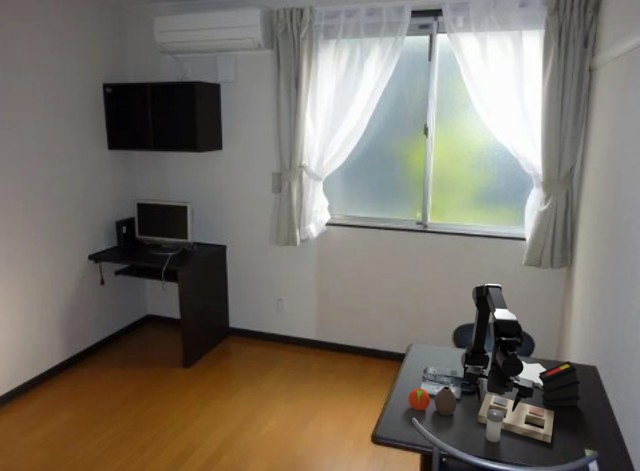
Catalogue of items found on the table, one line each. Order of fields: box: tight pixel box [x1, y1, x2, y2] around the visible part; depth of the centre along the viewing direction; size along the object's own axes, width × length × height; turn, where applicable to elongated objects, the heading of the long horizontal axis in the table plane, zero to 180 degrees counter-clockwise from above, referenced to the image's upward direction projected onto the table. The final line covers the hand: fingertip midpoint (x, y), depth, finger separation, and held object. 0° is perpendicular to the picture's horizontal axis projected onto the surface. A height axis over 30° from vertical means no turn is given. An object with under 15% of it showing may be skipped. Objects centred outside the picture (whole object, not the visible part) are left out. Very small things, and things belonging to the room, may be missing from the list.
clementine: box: [408, 387, 431, 411], centre depth 157 cm, size 8×7×7 cm
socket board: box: [477, 393, 555, 444], centre depth 153 cm, size 21×14×3 cm, turn 62°
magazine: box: [539, 360, 581, 407], centre depth 161 cm, size 4×13×15 cm, turn 92°
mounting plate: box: [515, 360, 547, 390], centre depth 179 cm, size 18×13×2 cm
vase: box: [434, 385, 457, 416], centre depth 156 cm, size 7×7×9 cm
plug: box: [485, 409, 505, 443], centre depth 143 cm, size 5×5×8 cm
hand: (496, 406), depth 142 cm, fingers open, 9 cm apart
